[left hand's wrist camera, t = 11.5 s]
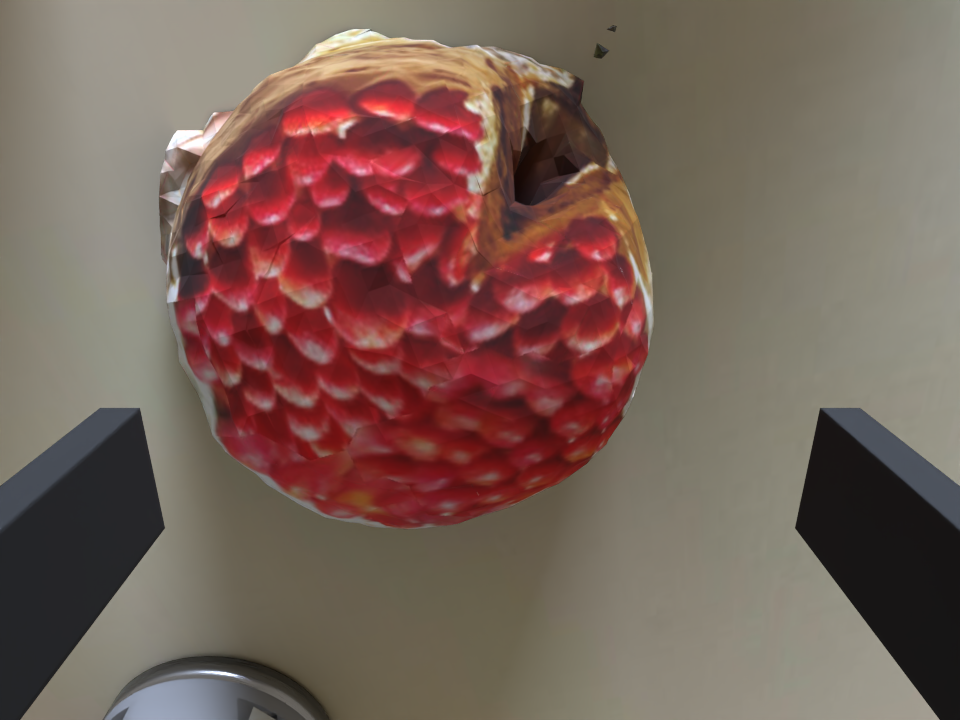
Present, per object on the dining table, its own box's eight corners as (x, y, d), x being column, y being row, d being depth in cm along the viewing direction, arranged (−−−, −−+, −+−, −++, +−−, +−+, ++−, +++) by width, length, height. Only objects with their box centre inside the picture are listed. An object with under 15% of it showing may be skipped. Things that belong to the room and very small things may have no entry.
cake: (716, 64, 29) (832, 38, 20) (556, 508, 38) (585, 638, 28) (206, -93, 27) (66, -206, 18) (153, 418, 35) (37, 526, 26)
